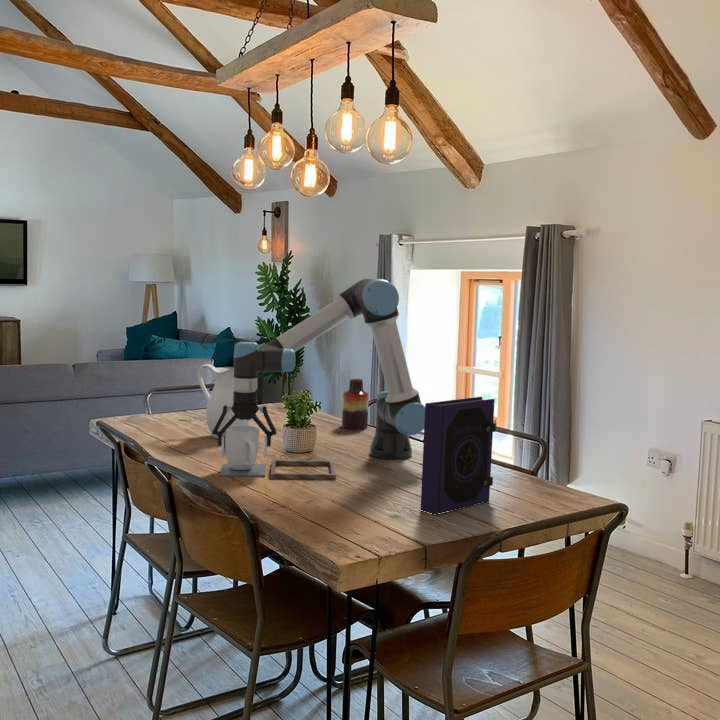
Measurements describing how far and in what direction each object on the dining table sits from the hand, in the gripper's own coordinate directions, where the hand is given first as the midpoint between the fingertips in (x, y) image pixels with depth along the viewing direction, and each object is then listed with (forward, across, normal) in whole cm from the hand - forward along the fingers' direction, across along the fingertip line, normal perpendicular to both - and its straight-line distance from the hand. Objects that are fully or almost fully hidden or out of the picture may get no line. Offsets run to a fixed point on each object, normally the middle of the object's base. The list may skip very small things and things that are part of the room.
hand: (244, 456), depth 247 cm
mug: (+4, +1, 0) cm, 4 cm away
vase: (+5, -42, -76) cm, 87 cm away
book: (+5, -62, +36) cm, 72 cm away
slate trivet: (+5, 0, 0) cm, 5 cm away
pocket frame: (+5, -19, 0) cm, 20 cm away
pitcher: (+5, +12, -54) cm, 56 cm away
